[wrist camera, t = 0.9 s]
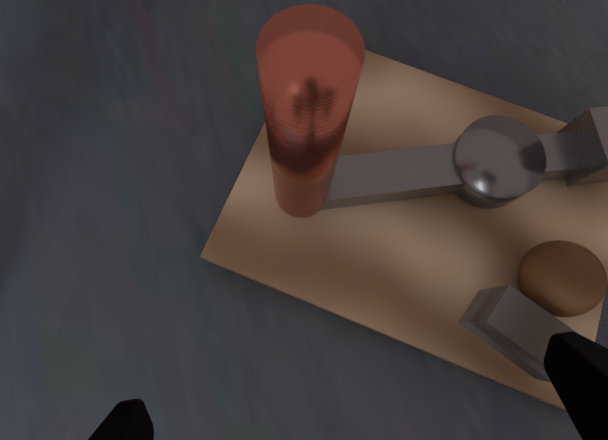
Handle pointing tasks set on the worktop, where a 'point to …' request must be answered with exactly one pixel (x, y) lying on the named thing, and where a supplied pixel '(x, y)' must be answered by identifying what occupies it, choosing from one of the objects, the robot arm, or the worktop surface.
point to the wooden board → (420, 238)
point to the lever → (403, 162)
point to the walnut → (562, 278)
